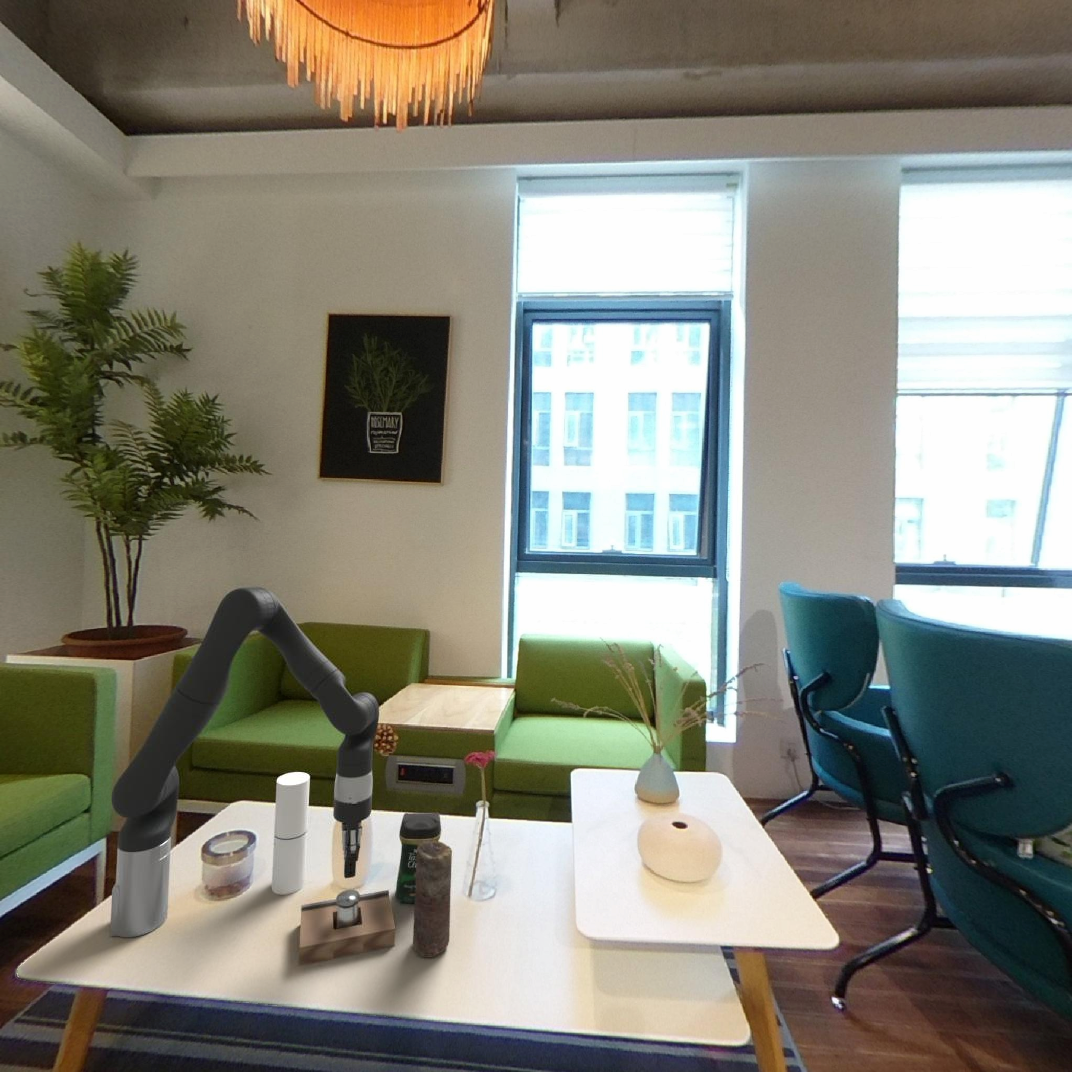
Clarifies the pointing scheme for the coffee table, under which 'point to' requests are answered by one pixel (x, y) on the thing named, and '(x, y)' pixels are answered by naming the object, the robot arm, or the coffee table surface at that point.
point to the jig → (345, 929)
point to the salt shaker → (347, 908)
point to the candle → (432, 899)
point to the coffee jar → (414, 849)
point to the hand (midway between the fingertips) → (349, 875)
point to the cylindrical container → (290, 832)
